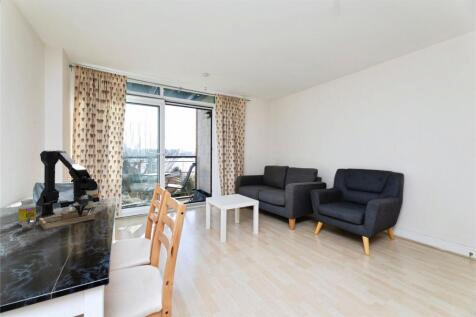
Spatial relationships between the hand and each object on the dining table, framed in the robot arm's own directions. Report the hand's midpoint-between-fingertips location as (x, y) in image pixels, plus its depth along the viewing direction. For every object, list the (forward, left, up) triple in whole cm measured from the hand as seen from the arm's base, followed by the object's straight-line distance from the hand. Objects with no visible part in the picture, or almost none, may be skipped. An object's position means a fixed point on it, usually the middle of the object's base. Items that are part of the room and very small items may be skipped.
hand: (80, 215), depth 123 cm
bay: (0, -6, -2) cm, 6 cm away
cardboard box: (0, -5, -2) cm, 5 cm away
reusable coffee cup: (-26, +11, -2) cm, 29 cm away
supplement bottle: (-12, -21, -2) cm, 24 cm away
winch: (0, -22, -2) cm, 22 cm away
